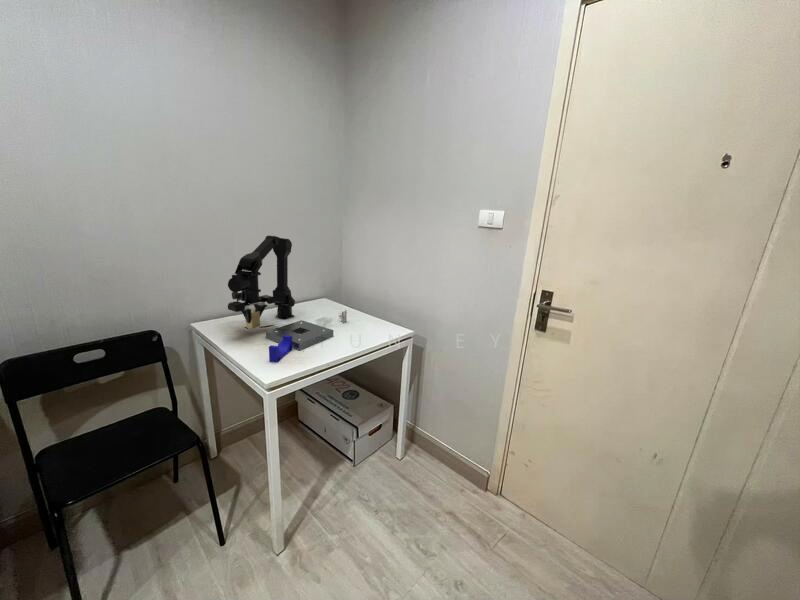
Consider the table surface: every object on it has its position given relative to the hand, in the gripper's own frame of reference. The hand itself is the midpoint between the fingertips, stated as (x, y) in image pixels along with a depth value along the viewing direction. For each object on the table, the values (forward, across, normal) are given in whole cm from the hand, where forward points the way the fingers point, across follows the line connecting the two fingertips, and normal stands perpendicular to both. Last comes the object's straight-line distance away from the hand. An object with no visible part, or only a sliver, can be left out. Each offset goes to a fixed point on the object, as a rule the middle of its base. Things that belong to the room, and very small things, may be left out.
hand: (253, 321), depth 143 cm
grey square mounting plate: (+6, -10, +18) cm, 21 cm away
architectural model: (+6, -33, +16) cm, 37 cm away
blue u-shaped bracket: (+6, +7, +25) cm, 27 cm away
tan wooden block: (+2, 0, 0) cm, 2 cm away
